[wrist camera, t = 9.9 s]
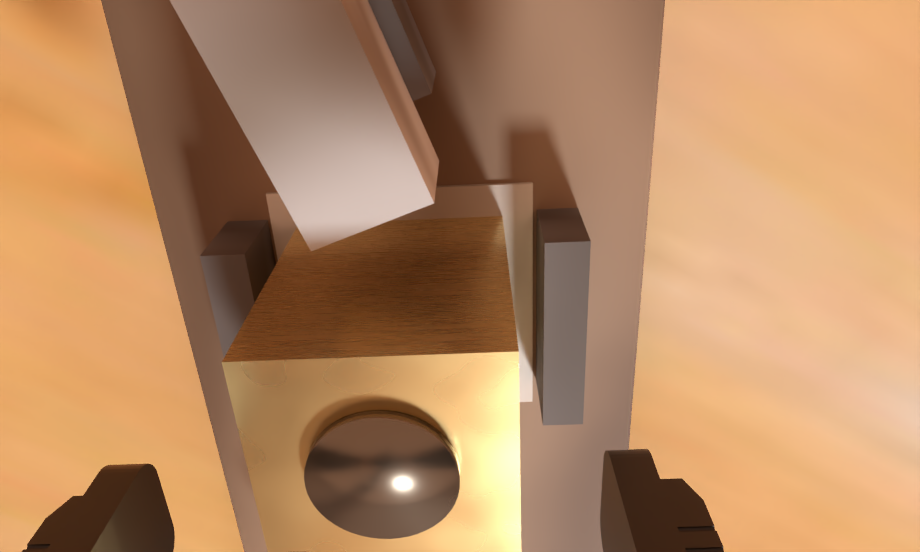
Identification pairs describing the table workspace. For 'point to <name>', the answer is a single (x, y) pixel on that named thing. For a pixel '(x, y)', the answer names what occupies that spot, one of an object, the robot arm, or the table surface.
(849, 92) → the table surface
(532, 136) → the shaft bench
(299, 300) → the tan knob block
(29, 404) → the table surface
